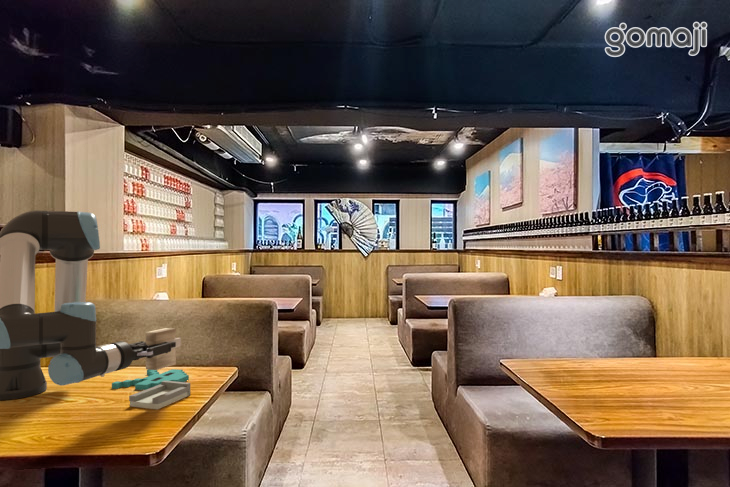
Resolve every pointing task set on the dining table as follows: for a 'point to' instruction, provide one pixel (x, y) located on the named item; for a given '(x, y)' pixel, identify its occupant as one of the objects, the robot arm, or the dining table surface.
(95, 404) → the dining table surface
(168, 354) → the beige rectangular block
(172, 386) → the groove board
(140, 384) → the alien figure
